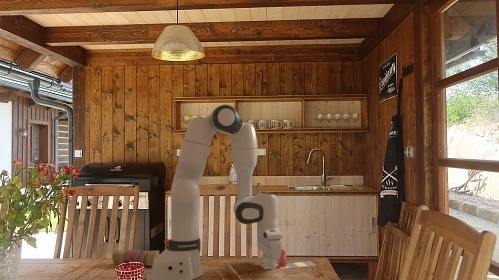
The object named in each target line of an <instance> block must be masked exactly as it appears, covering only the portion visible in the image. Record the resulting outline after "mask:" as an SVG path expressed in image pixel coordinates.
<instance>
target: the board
mask: <svg viewBox="0 0 499 280" xmlns="http://www.w3.org/2000/svg"><path fill="white" fill-rule="evenodd" d="M286 264H287V267H278V263H276V267H278V268H279V269H280V270H281V269H291V268H301V267H303V268H304V267H310V266H311V267H312V266H316V263H314V262H312V261H310V260H309V261H299V262H290V263H286Z"/></svg>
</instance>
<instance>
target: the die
mask: <svg viewBox="0 0 499 280" xmlns="http://www.w3.org/2000/svg"><path fill="white" fill-rule="evenodd" d="M268 262H269V256H267V255H262V254H261V255H260V266H261V268H262V269H263V270H274V269H277V265H276V264H277V259H275V260H274V267H269V266H268V265H269V264H268Z"/></svg>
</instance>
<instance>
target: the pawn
mask: <svg viewBox="0 0 499 280" xmlns="http://www.w3.org/2000/svg"><path fill="white" fill-rule="evenodd" d="M277 264H278V266H277V267H278V268H279V267H287V264H288V263H287V254H286V250H285V248H281V257H280V259H278V263H277Z"/></svg>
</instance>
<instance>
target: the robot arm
mask: <svg viewBox="0 0 499 280" xmlns="http://www.w3.org/2000/svg"><path fill="white" fill-rule="evenodd" d="M216 134H227V135H228V138H229V139H230V154H231V160H232V165H233V168H234V170H235V173H236V181H237V197H236V200H235V202H234V206H233V212H234V216H235V218H236V219H237V221H238V222H240V223H241V224H243V225H250V224H256V223H257V224H256V225H257V227H256V229H257V233H256V234H257V235H256V236H257V237H256V238H257V240H256V246H257V247H256V248H257V249H258V250H260V251H261V253H262V254H261V255H267V256H269V262H268V264H269V265H268V266H269V267H274V260H275V259H276V260H279V259H280V257H281V249H282V240H281V239H283V233H282V231H281V229H280V227H279V225H280V223H279V219H278V218H279V200H278V197H277V195H276V194H274V193H273V192H270V191H259V192H258V193H256V194H255V195H253V186H252V185H253V184H252V178H253V173H254V170H255V168H256V166H257V163H258V162H257V161H258V157H259V156H258V154H259V153H258V151H259V150H258V138H257V134H256V128H255V127H254V125H253V124H252V123H250V122H247V121H243V119H242V117H241V115H240V114H239V113H238V111H237V109H236V108H235V107H234V106H232V105H229V104H221V105H218V106H217V107H215V108H214V109H213V110H212V112H210V114H209V115H208V116H206V117H205V116H195V117H193V118H192V119H190V122H189V123H188V126H187V128H186V131H185V133H184V137H183V141H182V144H181V149H180V152H179V157H178V160H177V165H176V167H175V172H174V175H173V179H172V184H171V188H170V203H171V204H170V215H171V216H170V219H171V221H170V223H171V224H170V225H171V227H170V228H171V229H170V234H171V235H170V237H171V238H166V239H164V244H165V249H164V250H163V251H162V252H161V253H159V254H160V255H159V256H157V257H156V258H155V259H154V261H153V263H152V265H151V268H150V270H149V271H147V272H146V273H145V280H194V279H197V278H199V277H201V276H203V274H204V273H205V272H204V270H203V266H202V262H201V261H202V260H201V250H202V249H201V243H202V242H201V238H200V205H201V204H200V203H201V202H200V201H201V200H200V199H201V197H200V196H201V188H200V184H201V180H202V178H203V174H204V171H205V168H206V164H207V161H208V156H209V152H210V148H211V143H212V141H213V140H212V139H213V137H214V136H215V135H216Z"/></svg>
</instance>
